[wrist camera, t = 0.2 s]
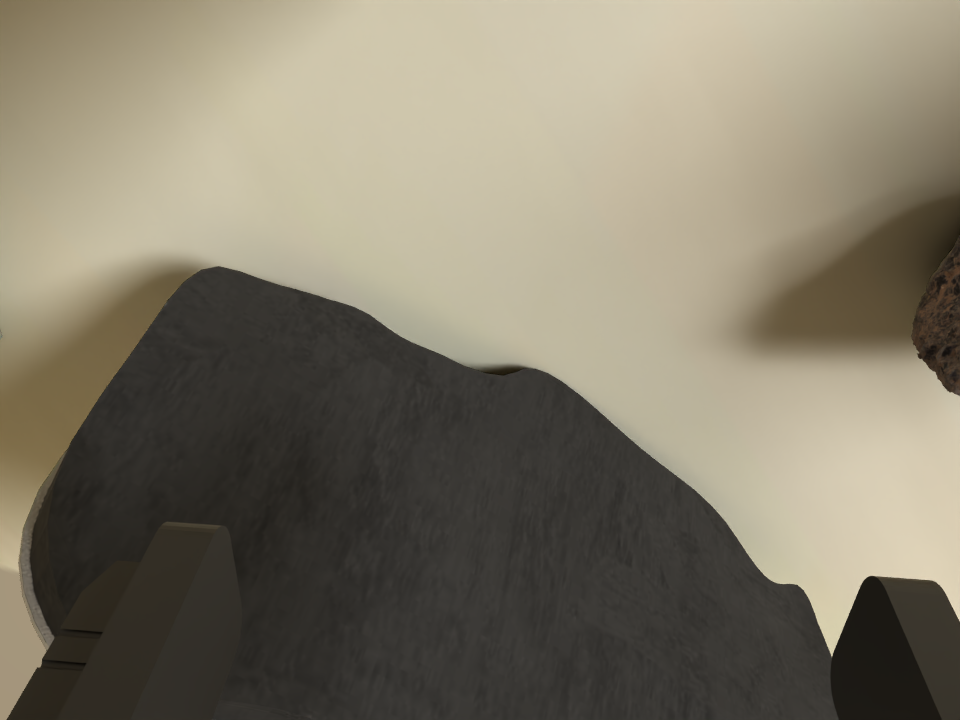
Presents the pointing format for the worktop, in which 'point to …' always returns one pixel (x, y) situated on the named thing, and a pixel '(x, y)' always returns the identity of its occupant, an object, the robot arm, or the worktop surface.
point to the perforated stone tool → (941, 322)
